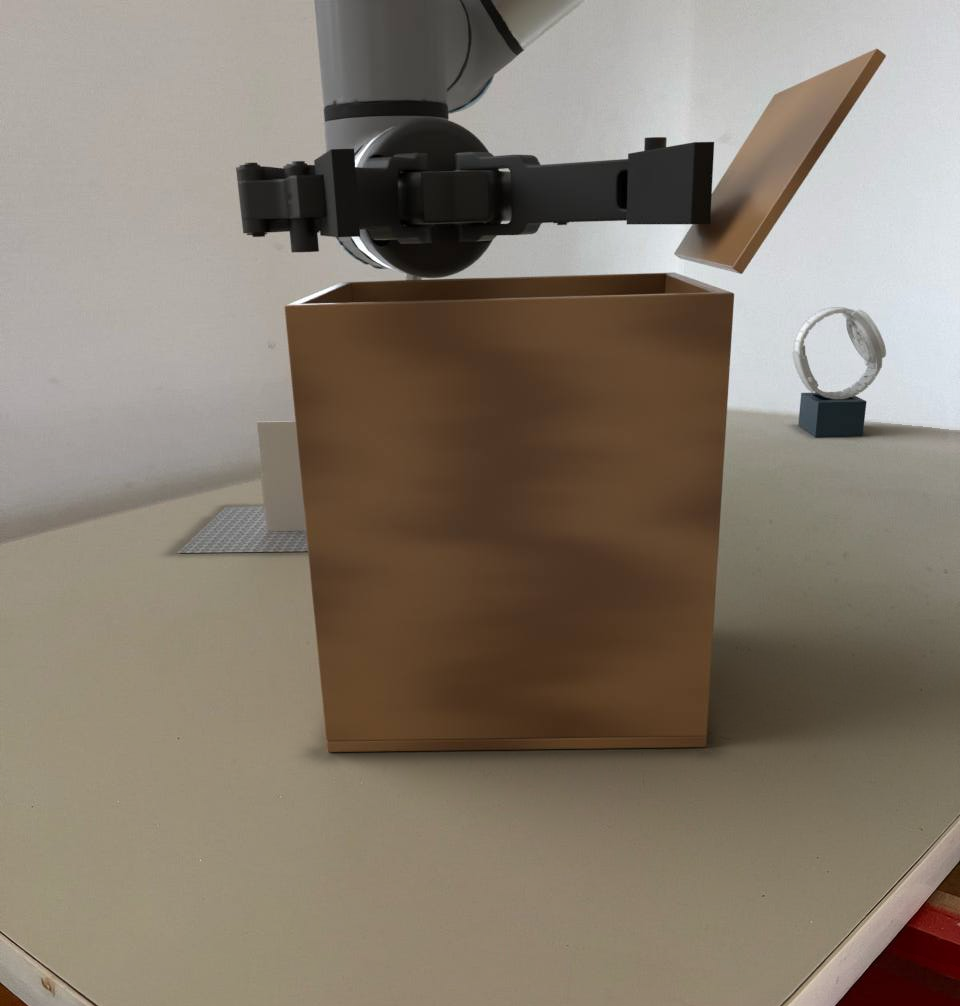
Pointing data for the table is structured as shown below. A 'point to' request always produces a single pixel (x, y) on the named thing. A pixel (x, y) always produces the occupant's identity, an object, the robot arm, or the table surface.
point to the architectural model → (283, 503)
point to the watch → (843, 408)
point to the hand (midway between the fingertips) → (531, 188)
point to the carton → (513, 507)
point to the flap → (775, 164)
